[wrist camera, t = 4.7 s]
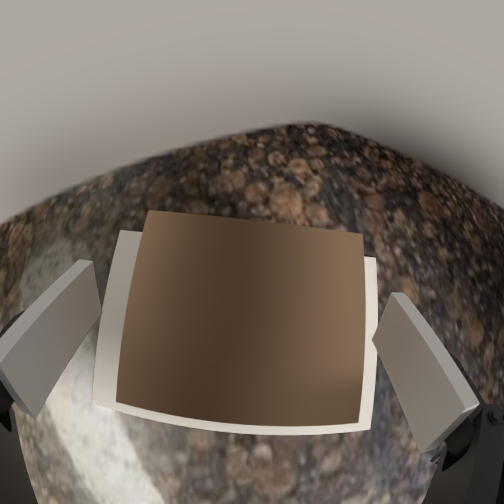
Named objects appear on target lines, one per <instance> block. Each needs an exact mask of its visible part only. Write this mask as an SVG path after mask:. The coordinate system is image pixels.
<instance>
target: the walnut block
mask: <svg viewBox="0 0 504 504" xmlns="http://www.w3.org/2000/svg"><path fill="white" fill-rule="evenodd" d="M365 329H366V291H365V263H364V246H363V234H358V233H351V232H344V231H337V230H330V229H322V228H315V227H307V226H299V225H291V224H283V223H275V222H266V221H257V220H248V219H239V218H230V217H220V216H210V215H199V214H189V213H178V212H166V211H154V210H148V214H147V217H146V221H145V225H144V228H143V232H142V236H141V240H140V244H139V249H138V253H137V257H136V262H135V266H134V271H133V276H132V281H131V286H130V291H129V296H128V302H127V308H126V314H125V320H124V326H123V333H122V341H121V349H120V357H119V366H118V377H117V389H116V402H118V403H122V404H125V405H129V406H133V407H137V408H141V409H145V410H149V411H154V412H158V413H163V414H168V415H173V416H179V417H184V418H190V419H197V420H204V421H211V422H220V423H229V424H241V425H256V426H288V427H295V426H327V425H342V424H353V423H359V415H360V406H361V397H362V386H363V373H364V357H365Z"/></svg>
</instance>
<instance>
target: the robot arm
mask: <svg viewBox="0 0 504 504" xmlns="http://www.w3.org/2000/svg"><path fill="white" fill-rule="evenodd" d="M101 313H102V309H101V304H100V299H99V294H98V289H97V283H96V277H95V271H94V265H93V261H88V260H82V259H79V260H78V261H77V262H76V263H75V264H73V265H72V266H71V267H70V268H69V269H68V270H67V271H66V272H65V273H63V274H62V275H61V276H60V277H59V278H58V279H57V280H56V281H55V282H54V283H53V284H52V285H51V286H50V287H49V288H48V289H47V290H45V291H44V292H43V293H42V294H41V295H40V296H39V297H38V298H37V299H36V300H35V301H34V302H33V303H32V304H31V305H30V306H29V307H28V309H27V310H26V311H25V310H24V311H22V312H21V313H19V314H17V315H16V316H14V317H13V318H12V319H11V320H10V322H9V323H8V324H7V326H5V327H4V328H3V329H2V330H1V333H0V504H38V502H37V499H36V497H35V494H34V491H33V488H32V485H31V482H30V479H29V476H28V472H27V469H26V465H25V462H24V458H23V454H22V450H21V445H20V441H19V436H18V430H17V425H16V419H15V412H14V409H13V407H12V406H11V405H12V403H13V402H14V401H15V403H16V404H17V405H18V407H19V408H20V409H21V411H23V412H25V413H26V414H28V415H30V416H32V417H34V418H37V416H38V414H39V412H40V410H41V408H42V406H43V405H44V403H45V401H46V399H47V398H48V396H49V394H50V392H51V391H52V389H53V387H54V386H55V384H56V382H57V380H58V379H59V377H60V376H61V374H62V372H63V371H64V369H65V367H66V366H67V364H68V363H69V361H70V359H71V358H72V356H73V355H74V353H75V352H76V350H77V349H78V347H79V346H80V344H81V343H82V341H83V340H84V338H85V337H86V335H87V334H88V332H89V331H90V329H91V328H92V326H93V325H94V323H95V322H96V321H97V319H98V318H99V316H100V315H101ZM372 341H373V344H374V346H375V348H376V350H377V352H378V354H379V356H380V359H381V361H382V363H383V365H384V367H385V370H386V372H387V374H388V376H389V379H390V381H391V383H392V385H393V388H394V390H395V392H396V395H397V397H398V400H399V402H400V404H401V407H402V409H403V412H404V414H405V417H406V419H407V422H408V424H409V427H410V429H411V432H412V435H413V437H414V440H415V443H416V445H417V448H418V451H419V454H421V453H424V452H428V451H431V450H433V449H435V448H437V447H438V446H439V445H440V444H441V443H442V442H443V441H444V440H445V443H446V446H445V447H444V448H443V449H442V450H441V451H439V452H438V453H437V454H436V455H435V456H434V457H432V459H431V461H430V462H433V461H434V460H436V459H437V458H438V457H439V456H440V458H439V460H438V461H437V462H436V463H435V464H437V467H436V470H435V473H434V476H433V478H432V481H431V484H430V486H429V489H428V491H427V493H426V496H425V498H424V500H423V503H422V504H504V411H503V410H502V409H501V408H500V407H499V406H497V405H495V404H487V405H486V403H485V402H484V400H483V399H482V397H481V395H480V394H479V392H478V390H477V389H476V387H475V385H474V384H473V382H472V380H471V379H470V378H468V377H469V376H468V374H467V373H466V371H464V368H463V366H462V365H461V363H460V362H459V360H458V359H457V358H455V357H454V356H453V355H452V354H451V353H450V352H448V351H447V350H446V349H445V347H444V346H443V344H442V343H441V341H440V340H439V338H438V337H437V336H436V334H435V333H434V331H433V330H432V329H431V327H430V326H429V324H428V323H427V322H426V320H425V319H424V318H423V316H422V315H421V314H420V312H419V311H418V310H417V308H416V307H415V306H414V304H413V303H412V302H411V301H410V299H409V298H408V297H407V295H406V294H405V293H394V292H391V295H390V297H389V300H388V302H387V305H386V307H385V310H384V312H383V315H382V317H381V319H380V322H379V324H378V326H377V329H376V331H375V333H374V335H373V338H372Z"/></svg>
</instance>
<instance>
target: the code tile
mask: <svg viewBox="0 0 504 504" xmlns="http://www.w3.org/2000/svg"><path fill="white" fill-rule="evenodd" d="M141 236H142V232H136V231H126V230H120V233H119V237H118V241H117V245H116V248H115V252H114V256H113V260H112V265H111V269H110V273H109V278H108V282H107V287H106V292H105V297H104V303H103V308H102V314H101V320H100V326H99V333H98V341H97V348H96V357H95V367H94V379H93V394H92V403H94V404H97V405H100V406H103V407H106V408H110V409H113V410H116V411H120V412H123V413H127V414H131V415H134V416H138V417H142V418H146V419H151V420H155V421H160V422H164V423H169V424H175V425H180V426H186V427H192V428H198V429H206V430H213V431H222V432H232V433H245V434H262V435H313V434H331V433H343V432H353V431H361V430H369V429H370V425H371V417H372V409H373V400H374V390H375V378H376V362H377V350H376V348H375V346H374V344H373V341H372V338H373V335H374V333H375V331H376V329H377V326H378V300H377V272H376V258H373V257H364V263H365V291H366V329H365V357H364V373H363V386H362V397H361V406H360V415H359V423H353V424H342V425H327V426H295V427H288V426H256V425H241V424H229V423H220V422H211V421H204V420H197V419H190V418H184V417H179V416H173V415H168V414H163V413H158V412H154V411H149V410H145V409H141V408H137V407H133V406H129V405H125V404H122V403H118V402H116V389H117V377H118V366H119V357H120V349H121V341H122V333H123V326H124V320H125V314H126V308H127V302H128V296H129V291H130V286H131V281H132V276H133V271H134V266H135V262H136V257H137V253H138V249H139V244H140V240H141Z"/></svg>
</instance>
